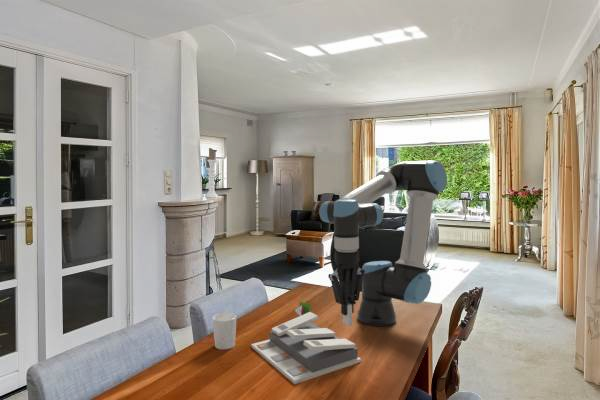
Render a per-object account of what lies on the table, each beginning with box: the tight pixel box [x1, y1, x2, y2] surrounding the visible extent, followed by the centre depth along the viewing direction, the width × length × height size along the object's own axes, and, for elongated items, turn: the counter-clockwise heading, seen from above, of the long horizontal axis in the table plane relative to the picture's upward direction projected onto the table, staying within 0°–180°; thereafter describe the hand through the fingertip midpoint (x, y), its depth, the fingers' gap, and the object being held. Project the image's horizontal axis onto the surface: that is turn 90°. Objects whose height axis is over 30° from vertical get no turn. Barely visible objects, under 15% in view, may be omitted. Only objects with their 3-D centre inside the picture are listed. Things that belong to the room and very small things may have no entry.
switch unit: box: [250, 322, 362, 385], centre depth 126 cm, size 24×28×4 cm
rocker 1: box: [271, 311, 319, 337], centre depth 136 cm, size 16×5×1 cm, turn 122°
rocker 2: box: [286, 327, 336, 339], centre depth 127 cm, size 16×5×1 cm, turn 123°
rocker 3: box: [303, 338, 356, 351], centre depth 119 cm, size 16×5×1 cm, turn 123°
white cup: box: [212, 312, 237, 351], centre depth 133 cm, size 8×8×10 cm
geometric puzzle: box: [294, 301, 315, 317], centre depth 157 cm, size 7×7×8 cm
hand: (347, 323), depth 122 cm, fingers closed
